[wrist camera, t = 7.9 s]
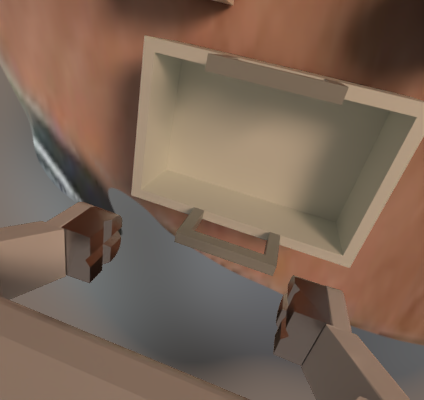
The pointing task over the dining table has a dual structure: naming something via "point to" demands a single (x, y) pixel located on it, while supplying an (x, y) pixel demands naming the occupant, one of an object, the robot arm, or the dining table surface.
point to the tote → (267, 152)
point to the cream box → (225, 1)
